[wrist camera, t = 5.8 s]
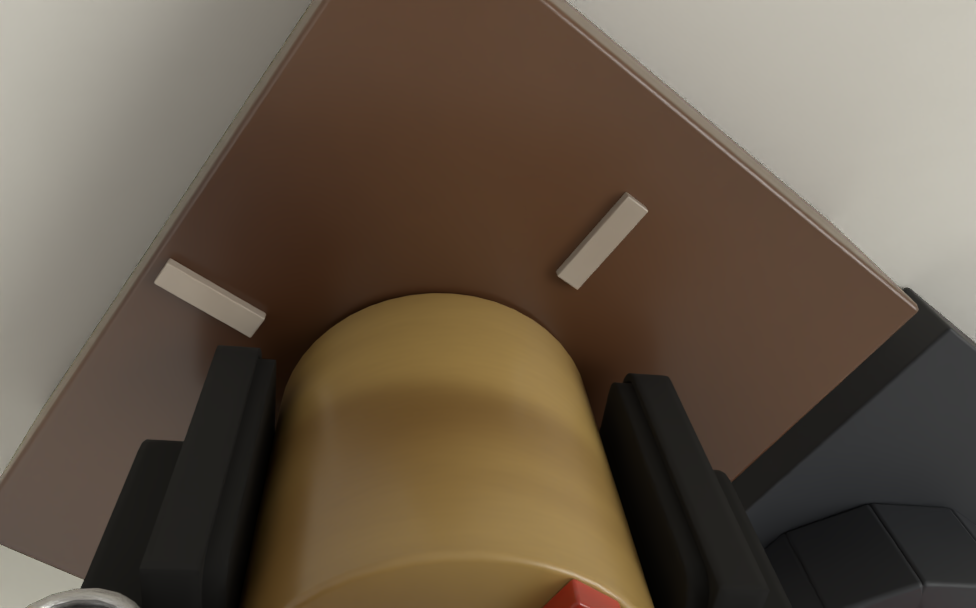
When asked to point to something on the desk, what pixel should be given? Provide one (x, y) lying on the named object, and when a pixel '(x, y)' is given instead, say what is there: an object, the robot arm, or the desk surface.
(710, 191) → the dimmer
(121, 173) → the desk surface
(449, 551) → the dimmer knob
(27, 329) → the desk surface
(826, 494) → the switch box
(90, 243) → the desk surface
